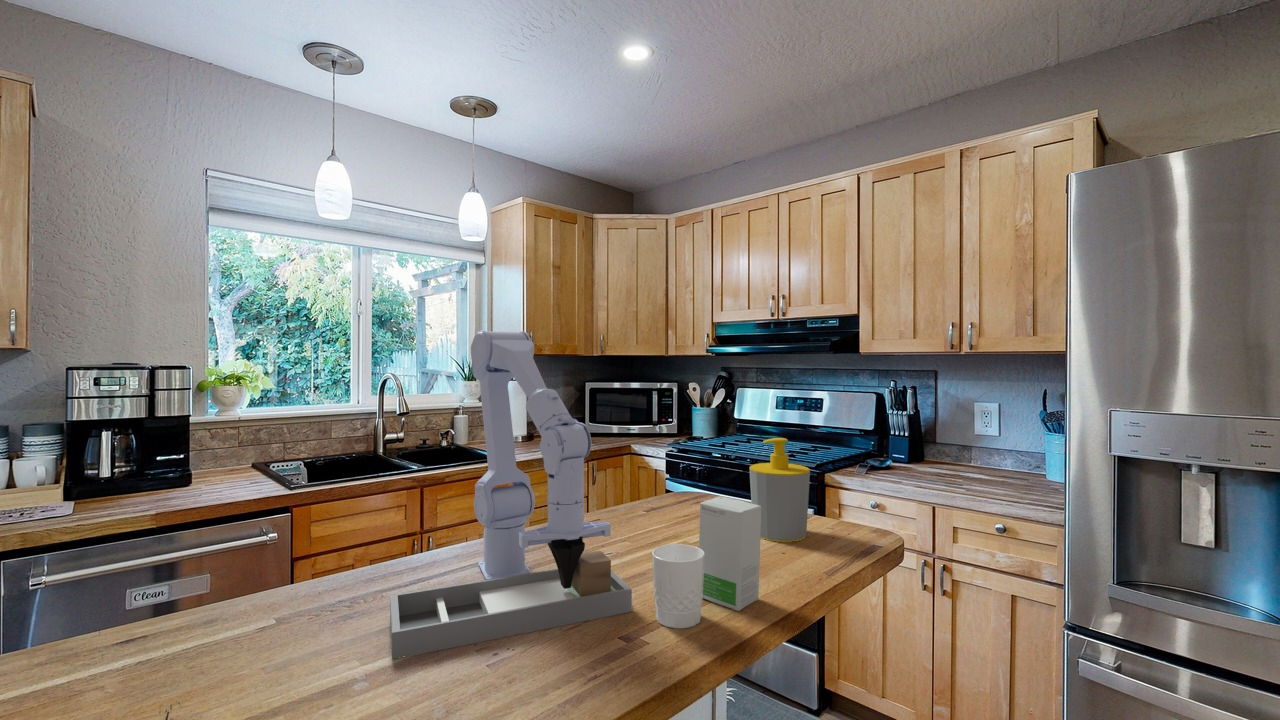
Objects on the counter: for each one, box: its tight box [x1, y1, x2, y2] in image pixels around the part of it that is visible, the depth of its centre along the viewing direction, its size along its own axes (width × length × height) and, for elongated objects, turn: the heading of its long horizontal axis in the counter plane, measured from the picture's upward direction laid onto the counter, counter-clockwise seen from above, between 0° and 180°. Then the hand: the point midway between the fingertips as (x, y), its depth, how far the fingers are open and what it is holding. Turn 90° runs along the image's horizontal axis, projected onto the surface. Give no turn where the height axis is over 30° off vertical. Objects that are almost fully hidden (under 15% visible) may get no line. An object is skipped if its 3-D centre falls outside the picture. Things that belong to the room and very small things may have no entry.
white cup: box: [651, 543, 705, 629], centre depth 87 cm, size 8×8×10 cm
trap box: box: [389, 568, 633, 660], centre depth 88 cm, size 13×34×4 cm, turn 114°
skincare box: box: [698, 496, 761, 612], centre depth 94 cm, size 8×7×16 cm
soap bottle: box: [749, 437, 811, 543], centre depth 128 cm, size 13×13×21 cm
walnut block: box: [571, 550, 612, 597], centre depth 93 cm, size 5×5×5 cm
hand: (566, 586), depth 91 cm, fingers closed
